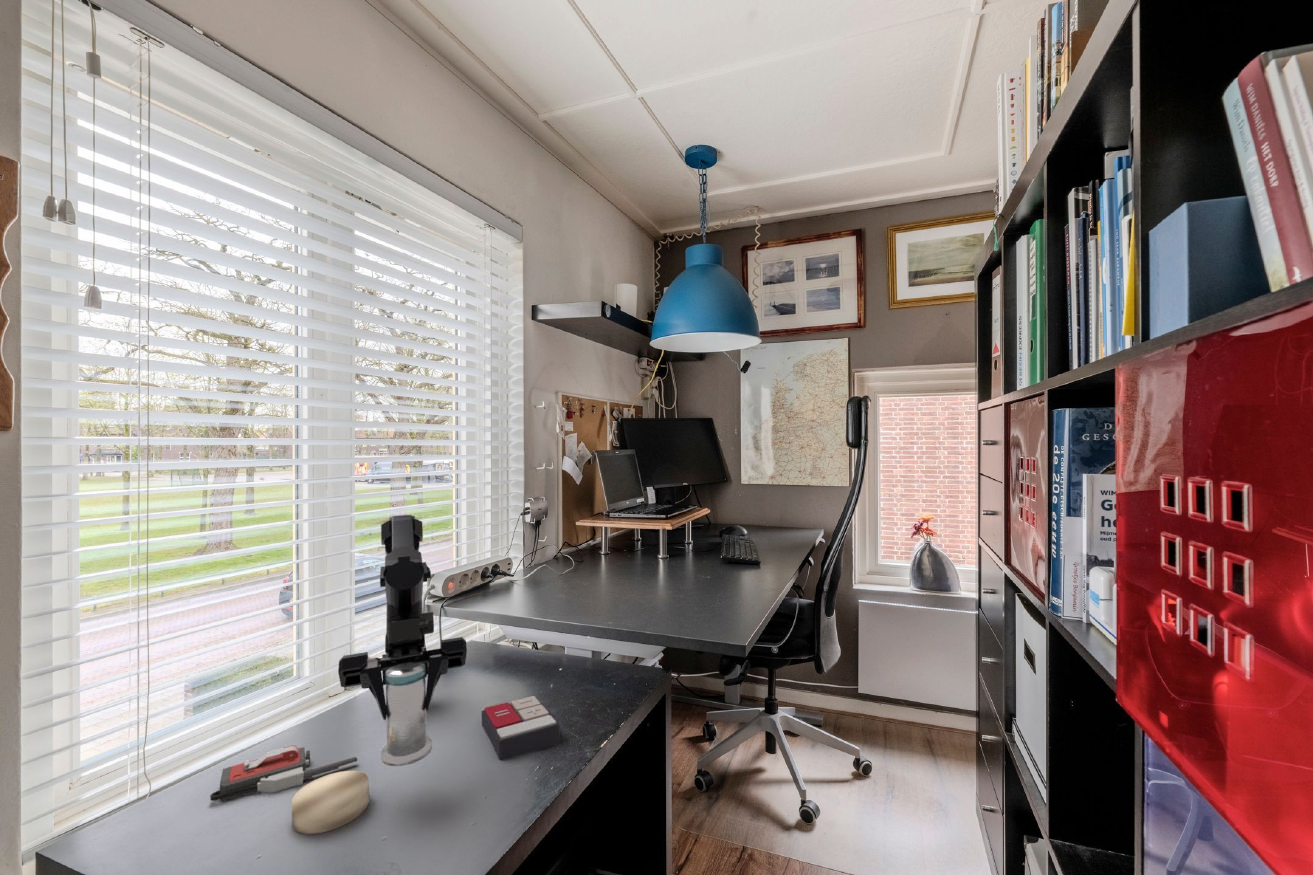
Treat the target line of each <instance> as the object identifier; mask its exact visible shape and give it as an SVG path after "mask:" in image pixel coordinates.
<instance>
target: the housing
mask: <svg viewBox="0 0 1313 875" xmlns="http://www.w3.org/2000/svg"><path fill="white" fill-rule="evenodd" d="M425 675H426V665H425V664H423V663H420V662H408V663H402V664H398V665H395V666H393V667H391V668H389V669H388V670H387V671H386V672H385V682H386V685H385V694H386V695H385V702H386V744H385V745H384V746H383V747H382V749H381V752H380V753H381V754H380V755H381V756H380V757H381V763H383V764H384V765H385V766H389V767H401V766H402V767H403V766H407V765H412V764H415V763H417V762H419V761H421V760H424V758H426V757H427V756H428V755H430V753H431V751H432V750H433V739H432V738H431V737H430V736H429V735H427V711H426V689H427V687H426V677H425Z"/></svg>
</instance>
